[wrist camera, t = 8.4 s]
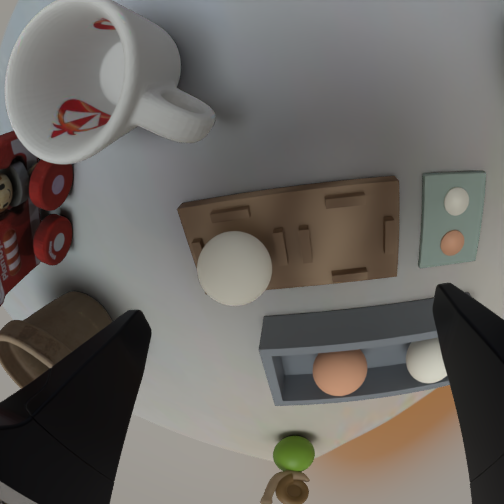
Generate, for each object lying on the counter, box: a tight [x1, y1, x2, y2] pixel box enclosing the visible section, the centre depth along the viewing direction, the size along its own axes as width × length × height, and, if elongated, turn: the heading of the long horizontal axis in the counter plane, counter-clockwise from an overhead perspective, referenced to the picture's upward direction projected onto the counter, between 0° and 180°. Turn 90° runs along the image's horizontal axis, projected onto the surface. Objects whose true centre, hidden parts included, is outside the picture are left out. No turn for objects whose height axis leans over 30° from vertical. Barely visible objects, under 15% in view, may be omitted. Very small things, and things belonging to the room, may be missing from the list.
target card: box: [418, 171, 486, 268], centre depth 18 cm, size 5×7×1 cm
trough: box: [259, 292, 470, 406], centre depth 24 cm, size 18×8×4 cm, turn 102°
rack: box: [177, 176, 399, 294], centre depth 20 cm, size 14×7×2 cm, turn 102°
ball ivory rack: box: [197, 231, 272, 306], centre depth 19 cm, size 4×4×4 cm
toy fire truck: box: [0, 131, 73, 306], centre depth 17 cm, size 7×12×10 cm, turn 164°
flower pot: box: [0, 291, 112, 389], centre depth 24 cm, size 12×11×10 cm
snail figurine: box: [260, 436, 315, 504], centre depth 31 cm, size 5×6×12 cm
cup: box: [5, 0, 215, 164], centre depth 13 cm, size 11×8×8 cm
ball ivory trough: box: [406, 338, 447, 383], centre depth 22 cm, size 4×4×4 cm
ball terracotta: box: [313, 349, 367, 396], centre depth 23 cm, size 4×4×4 cm
